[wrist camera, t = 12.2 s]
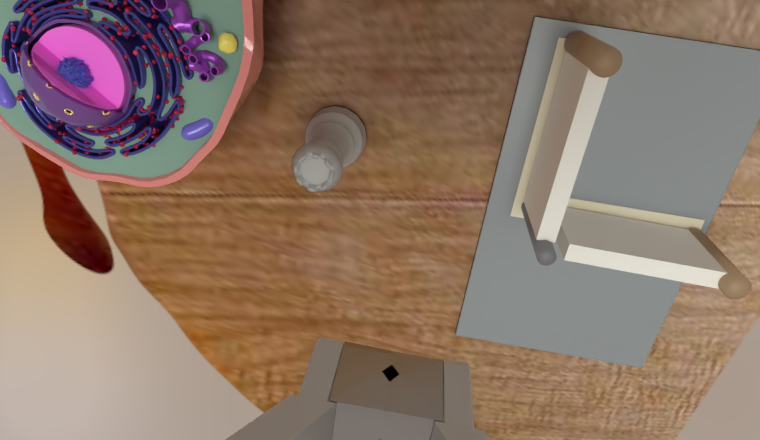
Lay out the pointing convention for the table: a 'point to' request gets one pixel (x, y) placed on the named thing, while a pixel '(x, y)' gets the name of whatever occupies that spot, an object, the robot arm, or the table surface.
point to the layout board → (610, 188)
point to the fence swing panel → (648, 251)
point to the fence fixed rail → (566, 137)
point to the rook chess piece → (328, 148)
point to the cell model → (127, 81)
